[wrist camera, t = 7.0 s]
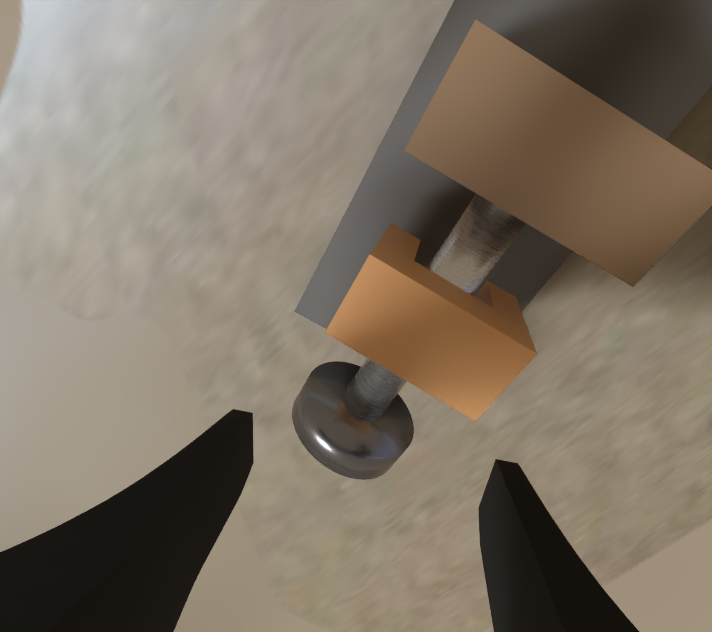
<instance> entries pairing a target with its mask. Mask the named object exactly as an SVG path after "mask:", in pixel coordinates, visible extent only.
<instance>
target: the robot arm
mask: <svg viewBox="0 0 712 632" xmlns="http://www.w3.org/2000/svg"><path fill="white" fill-rule="evenodd" d="M711 430H712V429H711ZM252 465H253V413H250V412H245V411H240V410H235V409H233V410H231V411H230V412H229V413H227V414H226V415H225V416H224V417H222V418H221V419H220V420H219V421H218V422H216V423H215V424H214V425H213V426H211V427H210V428H209V429H208V430H206V431H205V432H204V433H203V434H202V435H200V436H199V437H198V438H196V439H195V440H194V441H193V442H191V443H190V444H189V445H187V446H186V447H185V448H183V449H182V450H181V451H179V452H178V453H177V454H176V455H174V456H173V457H171V458H170V459H169V460H167V461H166V462H164V463H163V464H162V465H160V466H159V467H158V468H156V469H155V470H153V471H152V472H150V473H149V474H147V475H146V476H144V477H143V478H141V479H140V480H138V481H137V482H135V483H134V484H132V485H131V486H129V487H127V488H126V489H124V490H123V491H121V492H119V493H118V494H116V495H114V496H113V497H111V498H109V499H108V500H106V501H104V502H102V503H101V504H99V505H97V506H95V507H93V508H92V509H90V510H88V511H86V512H84V513H82V514H80V515H79V516H76V517H75V518H73V519H71V520H69V521H67V522H65V523H63V524H61V525H59V526H57V527H55V528H53V529H51V530H49V531H47V532H45V533H43V534H40V535H38V536H36V537H34V538H32V539H30V540H28V541H25V542H23V543H21V544H18V545H16V546H14V547H12V548H10V549H7V550H5V551H2V552H0V632H173V631H174V629H175V627H176V624H177V622H178V619H179V617H180V615H181V612H182V610H183V608H184V605H185V603H186V601H187V598H188V596H189V594H190V591H191V589H192V587H193V585H194V582H195V580H196V578H197V576H198V574H199V572H200V570H201V568H202V566H203V564H204V562H205V561H206V559H207V557H208V555H209V553H210V551H211V549H212V548H213V546H214V544H215V542H216V540H217V538H218V536H219V535H220V533H221V531H222V529H223V527H224V525H225V523H226V521H227V519H228V518H229V516H230V514H231V512H232V510H233V508H234V506H235V505H236V503H237V501H238V499H239V497H240V495H241V493H242V490H243V488H244V485H245V483H246V480H247V478H248V475H249V473H250V470H251V467H252ZM479 531H480V547H481V553H482V560H483V566H484V572H485V579H486V585H487V591H488V597H489V603H490V609H491V616H492V622H493V628H494V632H639V631H638V630H637V628H636V627H635V626H634V625H633V624H632V623H631V622H630V620H629V619H628V618H627V617H626V616H625V615H624V613H623V612H622V611H621V610H620V609H619V607H618V606H617V605H616V604H615V603H614V601H613V600H612V599H611V598H610V597H609V595H608V594H607V593H606V592H605V591H604V589H603V588H602V587H601V586H600V584H599V583H598V582H597V580H596V579H595V578H594V576H593V575H592V574H591V572H590V571H589V570H588V568H587V567H586V566H585V564H584V563H583V562H582V560H581V559H580V558H579V556H578V555H577V553H576V552H575V551H574V549H573V548H572V546H571V545H570V544H569V542H568V541H567V539H566V538H565V536H564V535H563V533H562V532H561V530H560V529H559V527H558V526H557V524H556V523H555V521H554V520H553V518H552V517H551V515H550V514H549V512H548V511H547V509H546V508H545V506H544V504H543V503H542V501H541V500H540V498H539V496H538V495H537V493H536V492H535V490H534V488H533V487H532V485H531V484H530V482H529V480H528V479H527V477H526V475H525V474H524V472H523V471H522V469H521V467H520V466H519V464H518V463H513V462H508V461H502V460H497V459H496V460H495V463H494V466H493V469H492V472H491V474H490V477H489V480H488V483H487V486H486V489H485V491H484V494H483V497H482V500H481V503H480V505H479Z"/></svg>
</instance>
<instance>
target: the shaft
mask: <svg viewBox="0 0 712 632" xmlns="http://www.w3.org/2000/svg"><path fill="white" fill-rule="evenodd" d="M525 224H526V223H525V222H523V221H522V220H520V219H518V218H517V217H515V216H513V215H512V214H510V213H508V212H507V211H505V210H503V209H501V208H500V207H498V206H496V205H495V204H493V203H491V202H490V201H488V200H486V199H485V198H483V197H481V196H480V195H478V194H476V195H475V196H474V198H473V199H472V201H471V202H470V204H469V205H468V207H467V208H466V210H465V211H464V213H463V214H462V216H461V217H460V219H459V220H458V222H457V223H456V225H455V226H454V228H453V229H452V231H451V232H450V234H449V235H448V237H447V238H446V240H445V241H444V243H443V244H442V246H441V247H440V249H439V250H438V252H437V253H436V255H435V256H434V258H433V259H432V261H431V262H430V264H429V265H428V267H427V269H429V270H430V271H432V272H434V273H435V274H437V275H439V276H440V277H442V278H444V279H446V280H447V281H449V282H450V283H452V284H454V285H455V286H457V287H459V288H461V289H462V290H464V291H466V292H467V293H469V294H471V295H473V293H474V292H475V291H476V289H477V288H478V287H479V285H480V284H481V283H482V281H483V280H484V279H485V277H486V276H487V275H488V273H489V272H490V271H491V269H492V268H493V267H494V265H495V264H496V263H497V261H498V260H499V259H500V257H501V256H502V255H503V254H504V252H505V251H506V250H507V248H508V247H509V246H510V244H511V243H512V242H513V240H514V239H515V238H516V236H517V235H518V234H519V232H520V231H521V230H522V228H523V227H524V226H525ZM406 382H407V381H406V380H405V379H403V378H401V377H400V376H398V375H396V374H394V373H393V372H391V371H389V370H388V369H386V368H384V367H383V366H381V365H379V364H377V363H376V362H374V361H372V360H371V359H369V358H367V359H366V360H365V362H364V363H363V365H362V366H361V367H360V366H357V365H354V364H351V363H346V362H328V363H324V364H322V365H319V366H318V367H316V368H315V369H314V370H313V371H312V372H311V374H310V376H309V377H308V379H307V381H306V383H305V384H304V386H303V388H302V389H301V391H300V393H299V394H298V396H297V398H296V399H295V402H294V404H293V409H292V419H293V424H294V427H295V431H296V433H297V435H298V437H299V439H300V441H301V442H302V444H303V445H304V447H305V448H306V449H307V450H308V452H309V453H310V454H311V455H312V456H313V457H314V458H315V459H316V460H318V461H319V462H320V463H321V464H323V465H324V466H325V467H327V468H329V469H330V470H332V471H334V472H336V473H338V474H340V475H343V476H346V477H349V478H354V479H363V480H365V479H373V478H377V477H379V476H381V475H383V474H384V473H386V472H387V471H388V470H389V469H390V468H391V466H392V465H393V464H394V463H395V462H396V461H397V459H398V458H399V457H400V456H401V455H402V454H403V452H404V451H405V450H406V449H407V448H408V446H409V445H410V443H411V441H412V439H413V434H414V426H413V421H412V417H411V414H410V412H409V410H408V408H407V406H406V404H405V403H404V401H403V400H402V398H401V397H400V396H399V395H398V393H399V391H400V390H401V389H402V387H403V386H404V385H405V383H406Z"/></svg>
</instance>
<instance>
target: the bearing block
mask: <svg viewBox="0 0 712 632" xmlns="http://www.w3.org/2000/svg"><path fill="white" fill-rule="evenodd" d="M711 86H712V0H454V2H453V4H452V6H451V8H450V10H449V12H448V14H447V16H446V18H445V20H444V22H443V24H442V26H441V28H440V30H439V32H438V33H437V35H436V37H435V39H434V41H433V43H432V45H431V47H430V49H429V51H428V53H427V55H426V57H425V59H424V61H423V63H422V65H421V67H420V68H419V70H418V72H417V74H416V76H415V78H414V80H413V82H412V84H411V86H410V88H409V90H408V92H407V94H406V96H405V98H404V100H403V102H402V103H401V105H400V107H399V109H398V111H397V113H396V115H395V117H394V119H393V121H392V123H391V125H390V127H389V129H388V131H387V133H386V135H385V137H384V138H383V140H382V142H381V144H380V146H379V148H378V150H377V152H376V154H375V156H374V158H373V160H372V162H371V164H370V166H369V168H368V170H367V172H366V173H365V175H364V177H363V179H362V181H361V183H360V185H359V187H358V189H357V191H356V193H355V195H354V197H353V199H352V201H351V203H350V205H349V207H348V208H347V210H346V212H345V214H344V216H343V218H342V220H341V222H340V224H339V226H338V228H337V230H336V232H335V234H334V236H333V238H332V240H331V242H330V243H329V245H328V247H327V249H326V251H325V253H324V255H323V257H322V259H321V261H320V263H319V265H318V267H317V269H316V271H315V273H314V275H313V277H312V278H311V280H310V282H309V284H308V286H307V288H306V290H305V292H304V294H303V296H302V298H301V300H300V302H299V304H298V306H297V308H296V310H295V312H296V313H298V314H300V315H302V316H304V317H306V318H307V319H309V320H311V321H313V322H315V323H317V324H318V325H320V326H322V327H324V328H326V329H327V328H328V326H329V324H330V323H331V321H332V319H333V317H334V316H335V314H336V312H337V310H338V309H339V307H340V305H341V303H342V302H343V300H344V298H345V296H346V295H347V293H348V291H349V289H350V288H351V286H352V284H353V282H354V281H355V279H356V277H357V275H358V274H359V272H360V270H361V268H362V267H363V265H364V263H365V262H366V260H367V258H368V256H369V255H370V253H371V252H372V250H373V249H374V247H375V246H376V244H377V243H378V242H379V240H380V239H381V237H382V236H383V234H384V233H385V232H386V230H387V229H388V227H389V226H390V224H391V223H393V224H394V225H396V226H398V227H399V228H401V229H403V230H404V231H406V232H408V233H409V234H411V235H413V236H414V237H416V238H418V239H419V240H421V241H420V244H419V247H418V250H417V253H416V256H415V260H414V261H415V262H417V263H419V264H420V265H422V266H424V267H425V268H427V267H428V265H429V264H430V262H431V261H432V259H433V258H434V256H435V255H436V253H437V252H438V250H439V249H440V247H441V246H442V244H443V243H444V241H445V240H446V238H447V237H448V235H449V234H450V232H451V231H452V229H453V228H454V226H455V225H456V223H457V222H458V220H459V219H460V217H461V216H462V214H463V213H464V211H465V210H466V208H467V207H468V205H469V204H470V202H471V201H472V199H473V198H474V196H475V195H476V194H478V195H480V196H481V197H483V198H485V199H486V200H488V201H490V202H491V203H493V204H495V205H496V206H498V207H500V208H501V209H503V210H505V211H507V212H508V213H510V214H512V215H513V216H515V217H517V218H518V219H520V220H522V221H523V222H525V223H526V224H525V226H524V227H523V228H522V230H521V231H520V232H519V234H518V235H517V236H516V238H515V239H514V240H513V242H512V243H511V244H510V246H509V247H508V248H507V250H506V251H505V252H504V254H503V255H502V256H501V257H500V259H499V260H498V261H497V263H496V264H495V265H494V267H493V268H492V269H491V271H490V272H489V273H488V275H487V276H486V277H485V279H484V280H483V281H482V283H481V284H480V285H479V287H478V288H477V289H476V291H475V292H474V293H473V295H472V296H474V297H475V296H476V295H477V293H478V292H479V291H480V289H481V288H482V287H483V285H484V284H485V283H486V281H487V280H488V281H490V282H491V283H493V284H495V285H496V286H498V287H500V288H501V289H503V290H505V291H506V292H508V293H510V294H511V295H513V296H515V297H516V298H517V301H518V304H519V306H520V309H521V311H522V310H523V309H524V308H525V306H526V305H527V304H528V303H529V302H530V301H531V299H532V298H533V297H534V296H535V295H536V293H537V292H538V291H539V290H540V289H541V288H542V286H543V285H544V284H545V283H546V282H547V280H548V279H549V278H550V277H551V276H552V275H553V273H554V272H555V271H556V270H557V269H558V267H559V266H560V265H561V264H562V263H563V262H564V260H565V259H566V258H567V257H568V256H569V254H570V253H571V252H572V251H574V252H575V253H577V254H579V255H580V256H582V257H584V258H585V259H587V260H589V261H590V262H592V263H594V264H595V265H597V266H599V267H600V268H602V269H604V270H605V271H607V272H609V273H610V274H612V275H614V276H616V277H617V278H619V279H621V280H622V281H624V282H626V283H627V284H629V285H631V286H632V287H633V286H634V285H635V284H636V283H637V282H638V281H639V280H640V279H641V278H642V277H643V276H644V275H645V274H646V273H647V272H648V271H649V270H650V269H651V268H652V267H653V266H654V265H655V264H656V263H657V262H658V261H659V260H660V259H661V258H662V257H663V255H664V254H665V253H666V252H667V251H668V250H669V249H670V248H671V247H672V246H673V245H674V244H675V243H676V242H677V241H678V240H679V239H680V238H681V237H682V236H683V235H684V234H685V233H686V232H687V231H688V230H689V229H690V228H691V227H692V226H693V225H694V224H695V223H696V222H697V221H698V220H699V218H700V217H701V216H702V215H703V214H704V213H705V212H706V211H707V210H708V209H709V208H710V207H711V206H712V170H711V169H710V168H708V167H707V166H705V165H703V164H702V163H700V162H699V161H697V160H696V159H694V158H692V157H691V156H689V155H688V154H686V153H685V152H683V151H681V150H680V149H678V148H677V147H675V146H674V145H672V144H670V143H669V142H667V141H666V140H667V138H668V137H669V136H670V135H671V134H672V132H673V131H674V130H675V129H676V128H677V127H678V125H679V124H680V123H681V122H682V121H683V119H684V118H685V117H686V116H687V115H688V114H689V112H690V111H691V110H692V109H693V108H694V106H695V105H696V104H697V103H698V102H699V101H700V99H701V98H702V97H703V96H704V95H705V93H706V92H707V91H708V90H709V89H710V87H711Z"/></svg>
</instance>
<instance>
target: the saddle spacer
mask: <svg viewBox="0 0 712 632" xmlns="http://www.w3.org/2000/svg"><path fill="white" fill-rule="evenodd" d="M420 241H421V240H419V239H418V238H416V237H414V236H413V235H411V234H409V233H408V232H406V231H404V230H403V229H401V228H399V227H398V226H396V225H394V224H393V223H391V224H390V226H389V227H388V229H387V230H386V232H385V233H384V234H383V236H382V237H381V239H380V240H379V242H378V243H377V244H376V246H375V247H374V249H373V250H372V252H371V253H370V255H369V256H368V258H367V260H366V262H365V263H364V265H363V267H362V268H361V270H360V272H359V274H358V275H357V277H356V279H355V281H354V282H353V284H352V286H351V288H350V289H349V291H348V293H347V295H346V296H345V298H344V300H343V302H342V303H341V305H340V307H339V309H338V310H337V312H336V314H335V316H334V317H333V319H332V321H331V323H330V324H329V326H328V328H327V330H326V331H325V333H327V334H328V335H330V336H332V337H333V338H335V339H337V340H338V341H340V342H342V343H343V344H345V345H347V346H349V347H350V348H352V349H354V350H355V351H357V352H359V353H360V354H362V355H364V356H366V357H367V358H369V359H371V360H372V361H374V362H376V363H377V364H379V365H381V366H383V367H384V368H386V369H388V370H389V371H391V372H393V373H394V374H396V375H398V376H400V377H401V378H403V379H405V380H406V381H408V382H410V383H411V384H413V385H415V386H417V387H418V388H420V389H422V390H423V391H425V392H427V393H428V394H430V395H432V396H433V397H435V398H437V399H439V400H440V401H442V402H444V403H445V404H447V405H449V406H450V407H452V408H454V409H456V410H457V411H459V412H461V413H462V414H464V415H466V416H467V417H469V418H471V419H473V420H474V421H476V420H477V418H478V417H479V416H480V415H481V414H482V413H483V412H484V411H485V410H486V409H487V408H488V406H489V405H490V404H491V403H492V402H493V401H494V400H495V399H496V398H497V397H498V396H499V395H500V393H501V392H502V391H503V390H504V389H505V388H506V387H507V386H508V385H509V384H510V383H511V382H512V380H513V379H514V378H515V377H516V376H517V375H518V374H519V373H520V372H521V371H522V370H523V369H524V367H525V366H526V365H527V364H528V363H529V362H530V361H531V360H532V359H533V358H534V357H535V355H536V354H537V352H536V350H535V347H534V344H533V342H532V339H531V336H530V333H529V331H528V328H527V325H526V323H525V320H524V317H523V314H522V312H521V309H520V306H519V304H518V301H517V298H516V297H515V296H513V295H511V294H510V293H508V292H506V291H505V290H503V289H501V288H500V287H498V286H496V285H495V284H493V283H491V282H490V281H488V280H487V281H486V283H485V284H484V285H483V287H482V288H481V289H480V291H479V292H478V293H477V295H476V296H475V297H474V296H472V295H471V294H469V293H467V292H466V291H464V290H462V289H461V288H459V287H457V286H455V285H454V284H452V283H450V282H449V281H447V280H446V279H444V278H442V277H440V276H439V275H437V274H435V273H434V272H432V271H430V270H429V269H427V268H425V267H424V266H422V265H420V264H419V263H417V262H415V261H414V260H415V256H416V253H417V250H418V247H419V244H420Z"/></svg>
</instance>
